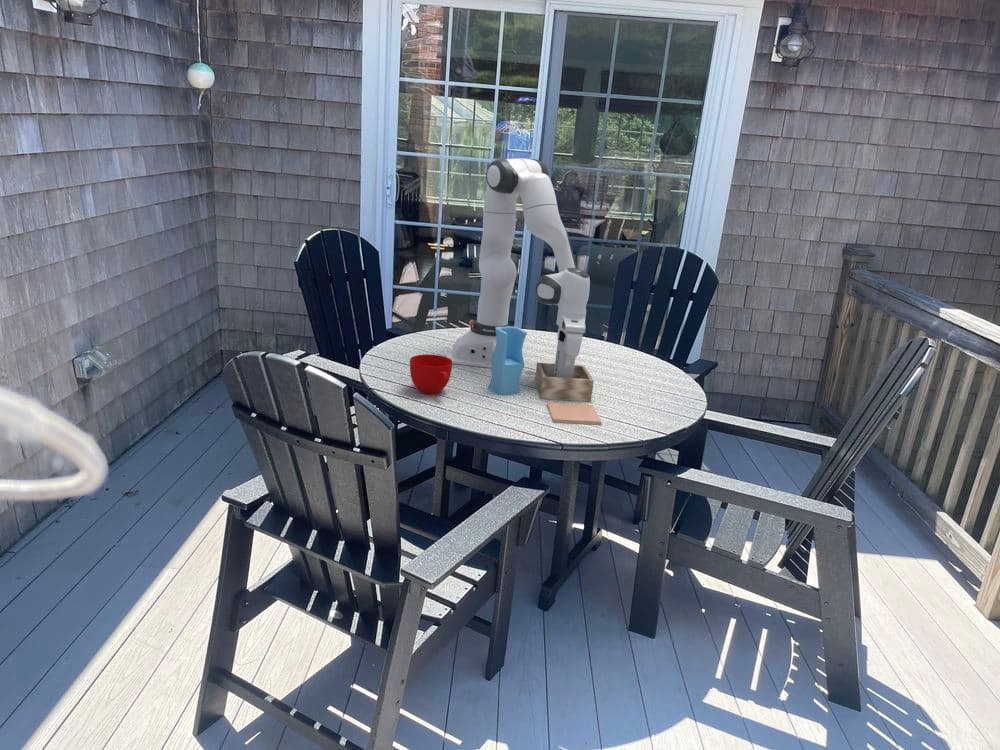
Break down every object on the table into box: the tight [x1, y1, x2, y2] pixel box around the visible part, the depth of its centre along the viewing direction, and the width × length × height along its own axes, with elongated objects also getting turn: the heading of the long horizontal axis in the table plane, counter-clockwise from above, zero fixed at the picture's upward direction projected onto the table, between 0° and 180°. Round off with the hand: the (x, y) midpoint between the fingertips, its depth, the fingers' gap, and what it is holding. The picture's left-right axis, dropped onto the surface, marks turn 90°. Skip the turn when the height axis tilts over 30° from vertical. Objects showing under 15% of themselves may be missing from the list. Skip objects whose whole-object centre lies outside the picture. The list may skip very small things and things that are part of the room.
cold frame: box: [534, 361, 595, 402], centre depth 234 cm, size 16×16×7 cm
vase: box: [487, 325, 528, 396], centre depth 229 cm, size 8×8×20 cm
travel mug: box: [553, 330, 577, 378], centre depth 233 cm, size 6×7×20 cm
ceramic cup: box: [409, 353, 453, 396], centre depth 221 cm, size 13×17×10 cm
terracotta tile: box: [546, 402, 603, 426], centre depth 215 cm, size 14×14×1 cm
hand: (564, 362), depth 233 cm, fingers closed on travel mug, 6 cm apart
